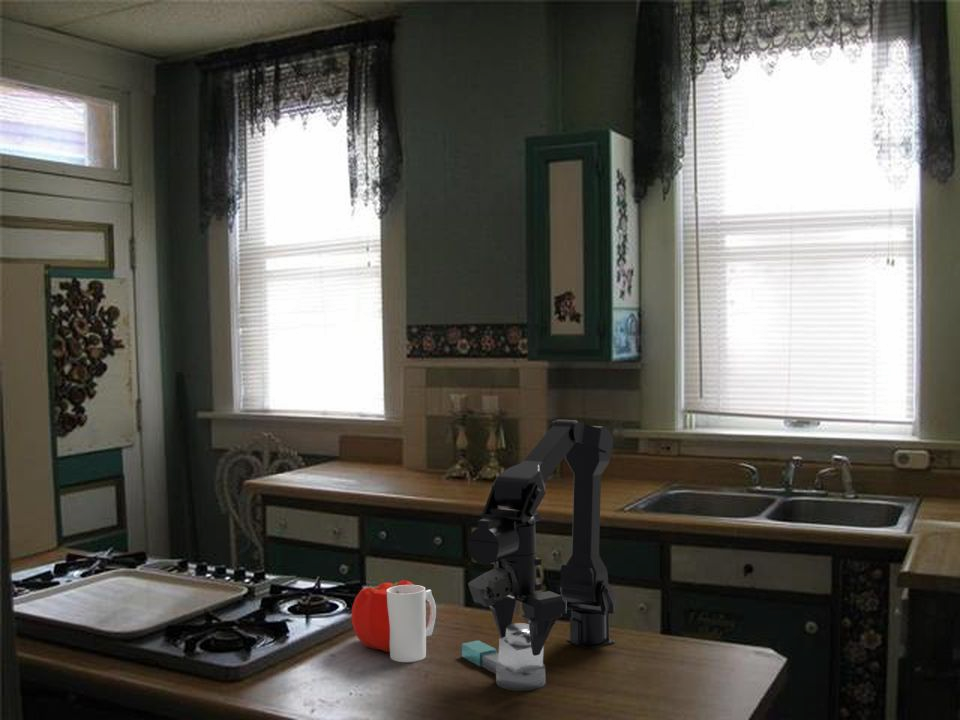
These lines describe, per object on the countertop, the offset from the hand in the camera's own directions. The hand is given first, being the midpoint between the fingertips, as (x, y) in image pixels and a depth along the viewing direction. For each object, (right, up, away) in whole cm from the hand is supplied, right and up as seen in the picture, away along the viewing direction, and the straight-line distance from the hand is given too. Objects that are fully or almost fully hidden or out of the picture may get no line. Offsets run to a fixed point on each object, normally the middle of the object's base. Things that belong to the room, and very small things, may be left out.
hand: (520, 647), depth 164 cm
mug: (-18, -6, +14) cm, 24 cm away
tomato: (-23, -6, +19) cm, 30 cm away
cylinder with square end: (0, -3, 0) cm, 3 cm away
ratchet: (-3, -6, +5) cm, 8 cm away
